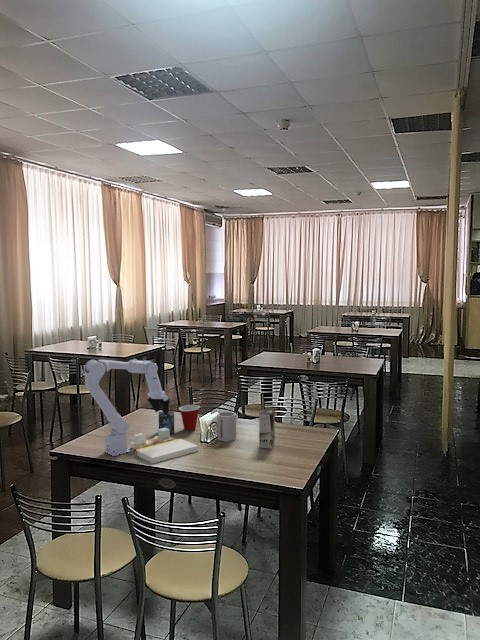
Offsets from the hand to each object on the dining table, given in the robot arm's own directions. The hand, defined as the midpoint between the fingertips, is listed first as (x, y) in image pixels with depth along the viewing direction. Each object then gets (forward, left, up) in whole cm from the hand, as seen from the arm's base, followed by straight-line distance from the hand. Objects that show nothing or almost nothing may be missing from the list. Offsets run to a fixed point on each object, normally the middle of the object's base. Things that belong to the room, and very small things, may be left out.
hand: (162, 412), depth 247 cm
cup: (+28, -14, -15) cm, 35 cm away
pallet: (-6, 0, -15) cm, 16 cm away
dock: (-6, -13, -15) cm, 21 cm away
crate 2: (+1, 0, -12) cm, 12 cm away
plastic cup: (+23, +10, -15) cm, 29 cm away
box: (+11, +13, -15) cm, 23 cm away
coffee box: (+35, -35, -15) cm, 52 cm away
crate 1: (-12, 0, -12) cm, 17 cm away
